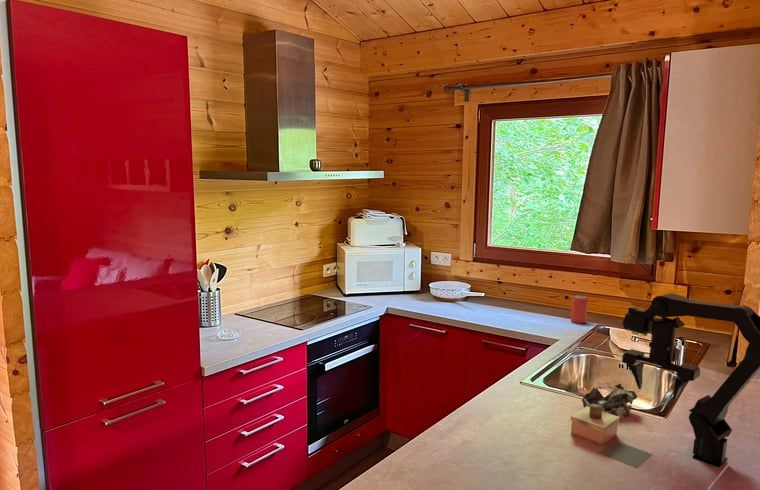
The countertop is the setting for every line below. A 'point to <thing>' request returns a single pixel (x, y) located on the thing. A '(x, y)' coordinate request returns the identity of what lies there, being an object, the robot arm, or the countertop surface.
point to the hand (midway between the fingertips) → (656, 393)
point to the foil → (611, 400)
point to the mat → (625, 454)
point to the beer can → (579, 309)
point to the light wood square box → (593, 433)
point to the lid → (595, 418)
